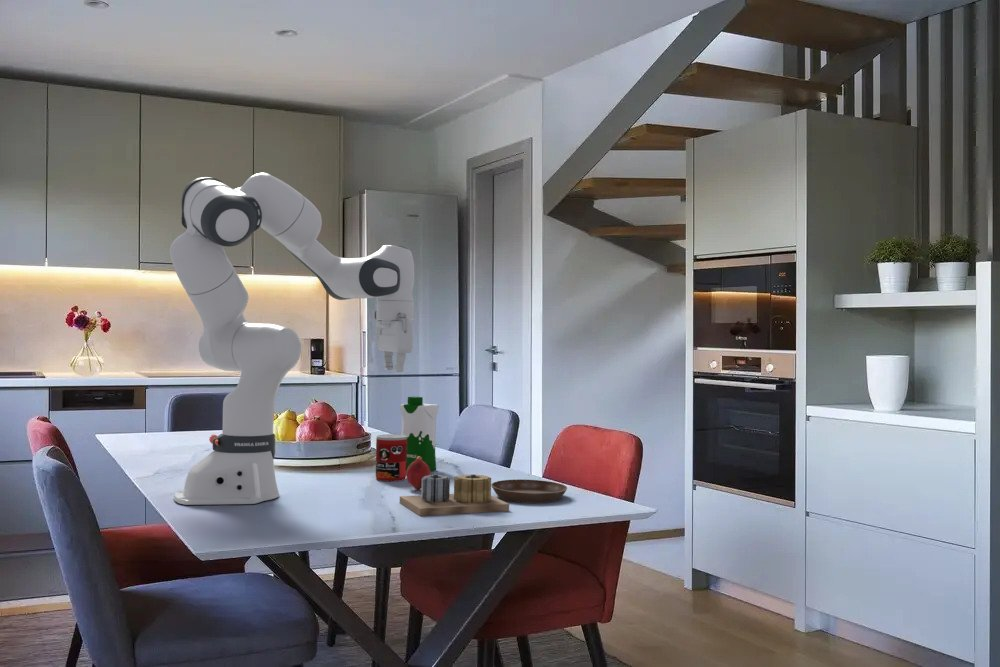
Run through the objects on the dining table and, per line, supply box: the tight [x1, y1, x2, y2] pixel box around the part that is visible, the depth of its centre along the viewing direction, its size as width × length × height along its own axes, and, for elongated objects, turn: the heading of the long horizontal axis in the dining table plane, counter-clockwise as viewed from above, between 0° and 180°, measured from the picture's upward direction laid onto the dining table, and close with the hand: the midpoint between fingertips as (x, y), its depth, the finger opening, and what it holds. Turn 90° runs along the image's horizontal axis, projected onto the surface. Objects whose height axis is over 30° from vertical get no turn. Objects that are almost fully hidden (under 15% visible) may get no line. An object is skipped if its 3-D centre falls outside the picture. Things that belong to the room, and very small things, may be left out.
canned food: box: [375, 433, 407, 482], centre depth 246 cm, size 8×8×11 cm
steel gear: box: [420, 474, 451, 502], centre depth 210 cm, size 6×6×5 cm
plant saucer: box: [491, 478, 568, 504], centre depth 224 cm, size 18×18×3 cm
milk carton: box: [399, 396, 440, 472], centre depth 261 cm, size 9×9×20 cm
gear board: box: [399, 473, 510, 517], centre depth 210 cm, size 20×15×7 cm
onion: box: [406, 456, 432, 491], centre depth 231 cm, size 6×6×8 cm
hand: (393, 371), depth 232 cm, fingers open, 8 cm apart
